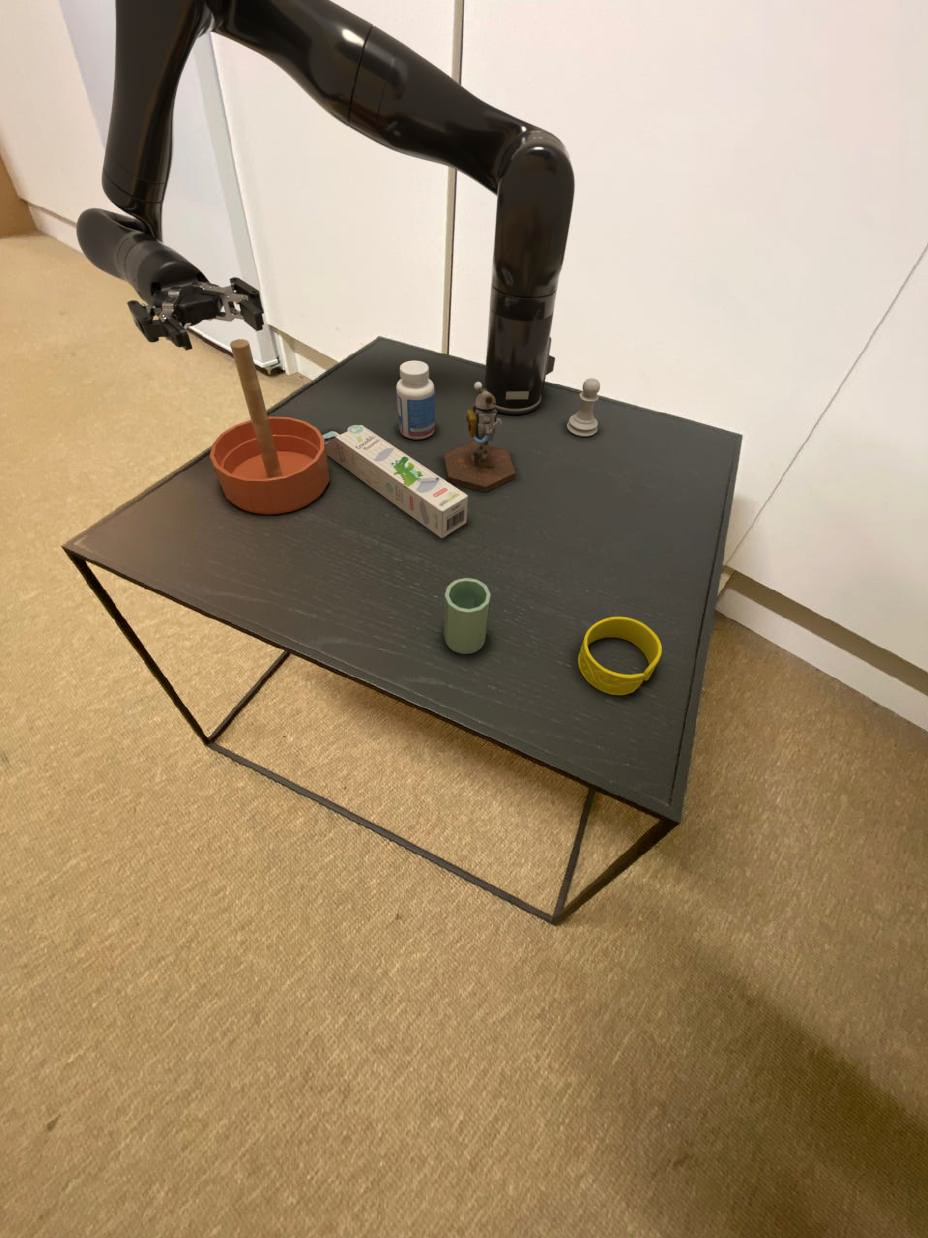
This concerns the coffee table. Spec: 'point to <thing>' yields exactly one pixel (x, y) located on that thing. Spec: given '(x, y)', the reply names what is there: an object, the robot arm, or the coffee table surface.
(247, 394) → the stick
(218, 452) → the bowl
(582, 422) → the chess piece
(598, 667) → the bracelet
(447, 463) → the robot figurine
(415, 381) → the pill bottle
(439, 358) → the coffee table surface
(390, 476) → the box
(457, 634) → the holder
